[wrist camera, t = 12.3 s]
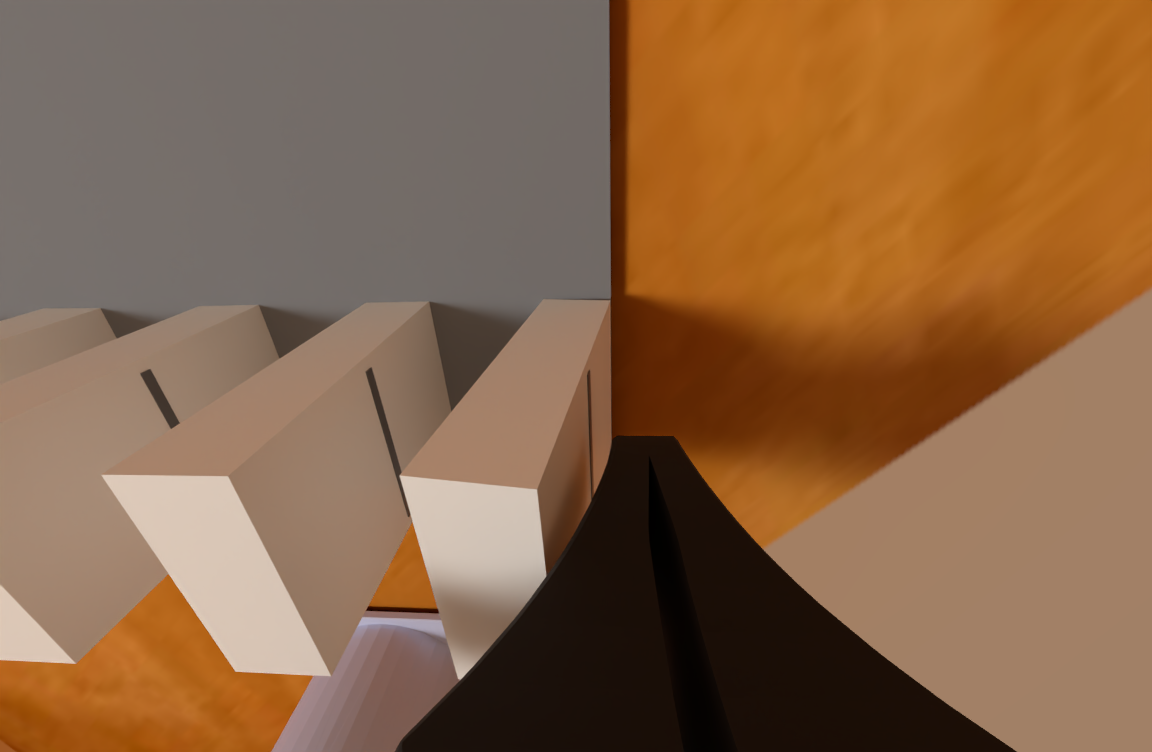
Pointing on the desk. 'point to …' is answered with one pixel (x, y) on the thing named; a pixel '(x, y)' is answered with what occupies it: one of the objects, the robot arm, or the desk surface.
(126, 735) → the desk surface
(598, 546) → the robot arm
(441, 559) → the domino
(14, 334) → the domino
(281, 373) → the domino
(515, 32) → the mat
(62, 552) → the domino
